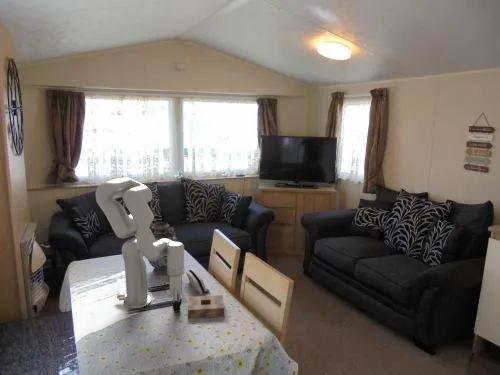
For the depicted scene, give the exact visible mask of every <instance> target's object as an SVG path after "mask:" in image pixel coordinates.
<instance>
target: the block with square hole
mask: <svg viewBox="0 0 500 375" xmlns="http://www.w3.org/2000/svg"><path fill="white" fill-rule="evenodd" d="M187 297H188V298H187V300H188V301H187V319H197V318H198V319H200V318H217V317H225V305H224V296H223V294H219V295H204V296H203V295H201V296H200V295H199V296H198V295H197V296H187Z"/></svg>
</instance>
